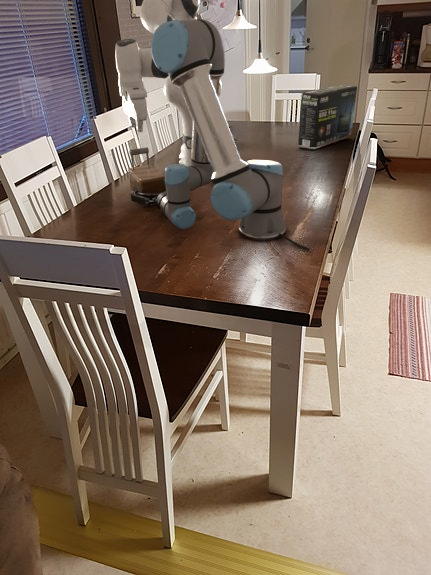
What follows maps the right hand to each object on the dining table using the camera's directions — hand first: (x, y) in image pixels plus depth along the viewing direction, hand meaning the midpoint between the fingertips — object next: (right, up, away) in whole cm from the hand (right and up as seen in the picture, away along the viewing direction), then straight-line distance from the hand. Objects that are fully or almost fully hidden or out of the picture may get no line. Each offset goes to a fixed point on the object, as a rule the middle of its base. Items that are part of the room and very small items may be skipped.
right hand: (151, 186), depth 174 cm
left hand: (-5, +22, 0) cm, 22 cm away
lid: (-2, +5, +3) cm, 6 cm away
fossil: (+27, +38, +73) cm, 86 cm away
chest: (-2, -3, +7) cm, 8 cm away
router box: (+83, +39, +70) cm, 116 cm away
